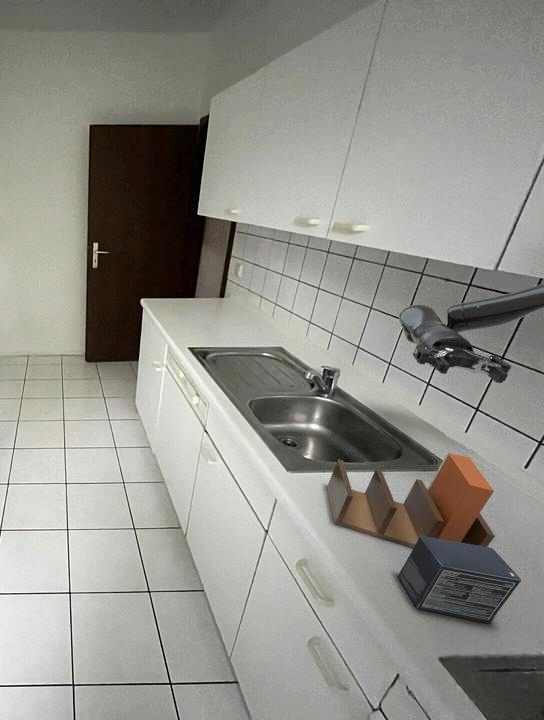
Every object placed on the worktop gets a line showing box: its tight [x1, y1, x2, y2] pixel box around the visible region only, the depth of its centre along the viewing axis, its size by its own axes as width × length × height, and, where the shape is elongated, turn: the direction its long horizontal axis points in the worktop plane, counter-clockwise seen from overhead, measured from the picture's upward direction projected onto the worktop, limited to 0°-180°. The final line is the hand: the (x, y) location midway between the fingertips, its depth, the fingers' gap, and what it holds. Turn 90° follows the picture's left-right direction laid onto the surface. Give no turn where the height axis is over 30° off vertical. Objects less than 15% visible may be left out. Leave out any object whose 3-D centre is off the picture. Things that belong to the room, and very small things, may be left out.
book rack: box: [326, 459, 495, 549], centre depth 79 cm, size 22×12×8 cm, turn 65°
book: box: [427, 452, 495, 543], centre depth 75 cm, size 3×10×15 cm, turn 155°
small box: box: [397, 536, 523, 624], centre depth 63 cm, size 11×6×10 cm, turn 77°
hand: (473, 374), depth 76 cm, fingers open, 8 cm apart
